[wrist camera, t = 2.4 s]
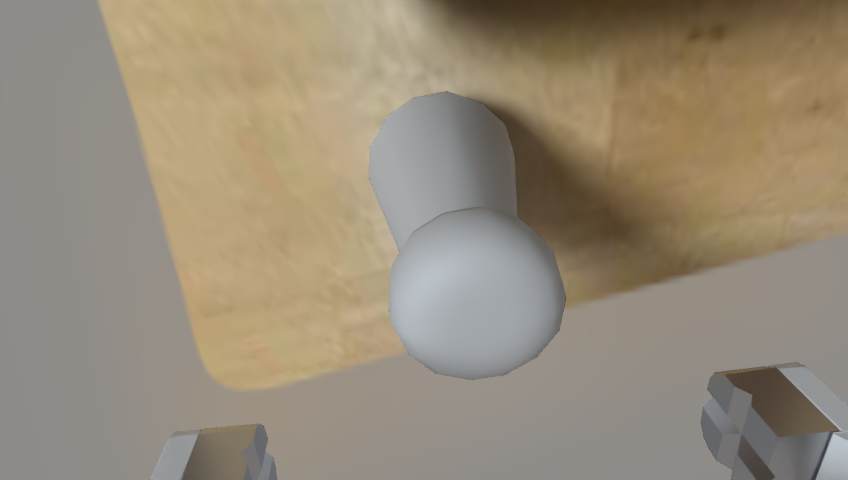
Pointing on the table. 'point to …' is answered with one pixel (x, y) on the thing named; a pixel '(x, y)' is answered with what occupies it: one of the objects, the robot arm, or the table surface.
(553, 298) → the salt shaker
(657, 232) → the table surface
